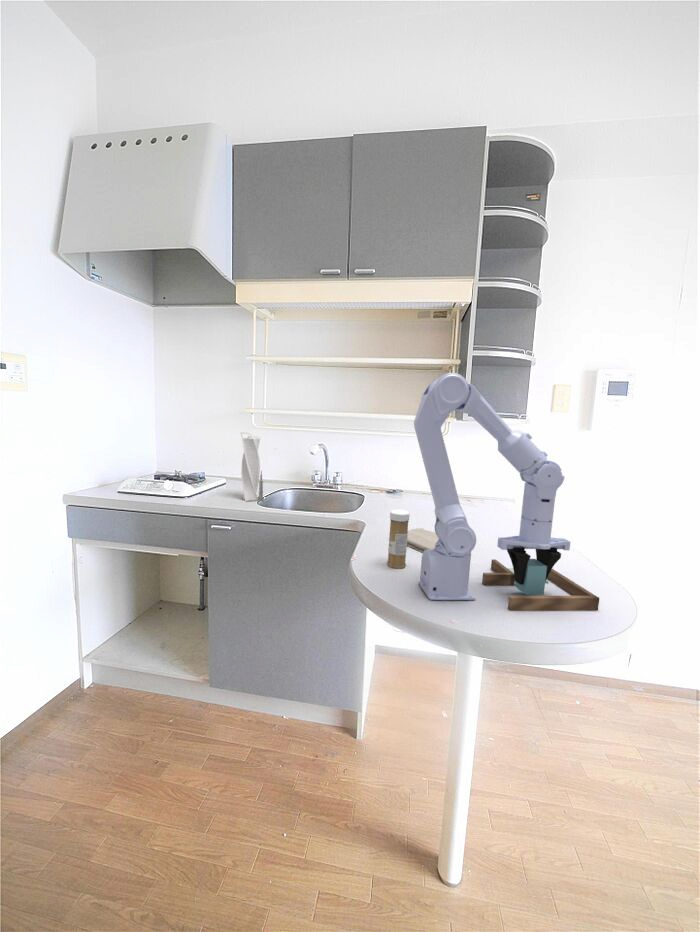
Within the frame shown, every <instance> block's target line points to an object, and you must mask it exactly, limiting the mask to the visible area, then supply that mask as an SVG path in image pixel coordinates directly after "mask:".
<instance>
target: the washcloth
mask: <svg viewBox="0 0 700 932" xmlns="http://www.w3.org/2000/svg"><path fill="white" fill-rule="evenodd" d="M438 540H439V538H438V536H437V535H436V533H435V531H434V532H433V531H431V530H427V529H425V528H419V527H417V528H414V529H413V528H412V529H410V530H409V529H408V537H407V547H409V548H411V549H413V550H415V551H419V552H420V553H422V554H423V551H424V550H430V549H433V548H435V544H436V543H437V541H438Z"/></svg>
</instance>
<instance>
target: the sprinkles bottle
mask: <svg viewBox="0 0 700 932" xmlns="http://www.w3.org/2000/svg"><path fill="white" fill-rule="evenodd" d="M389 519H390V525H389V537H388V555H387V561H386V565H387V566H388V567H390V568H393V569H403V568H405V567H406V559H407V555H406V554H407V547H408V546H407V537H408V531H409V521H410V512H409V511H407V510H404V509H392V510H391V511H390V512H389Z"/></svg>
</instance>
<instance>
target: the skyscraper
mask: <svg viewBox="0 0 700 932" xmlns="http://www.w3.org/2000/svg"><path fill="white" fill-rule="evenodd" d="M243 434H246V435H247V437H244V436H243ZM240 436H241V439H242V440H241V441H242V447H243V455H242V458H241V459H242V460H241V482H242V483H241V485H242V490H243V495H242V497H241V500H243V501H245V502H246V503H253V502H255V503H256V502H264V501H265V500H264V497H263V496H264V494H263V493H264V490H263V489H264V487H263V486H264V481H263V474H262V471H263V470H261V463H260V462H261V461H260V455H259V451H258V450H259V446H260V442H261V437H259V436H256V435H253V434H251V433H250V432H246V431H242V432H240ZM258 488H259V489H258ZM257 491H258V492H257ZM257 493H258V494H257Z"/></svg>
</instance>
